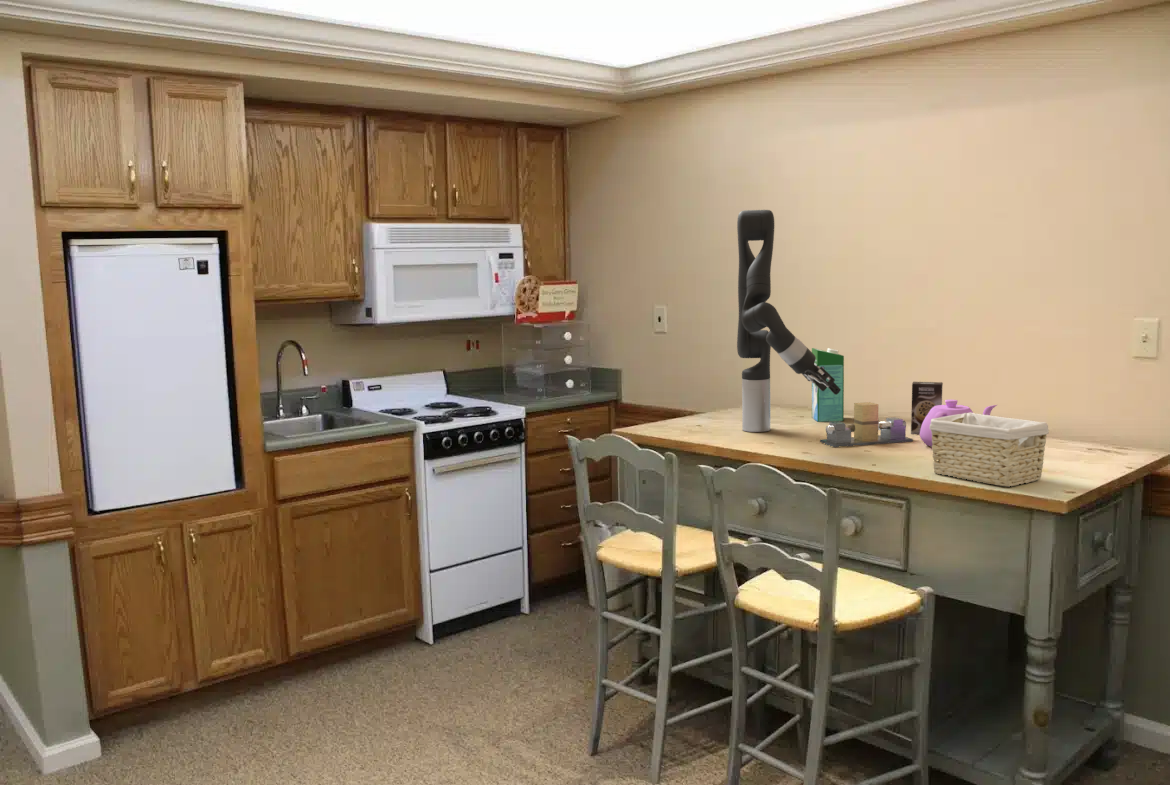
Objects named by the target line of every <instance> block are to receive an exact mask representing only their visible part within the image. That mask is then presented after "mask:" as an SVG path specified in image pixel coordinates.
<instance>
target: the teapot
mask: <svg viewBox="0 0 1170 785" xmlns="http://www.w3.org/2000/svg"><path fill="white" fill-rule="evenodd" d="M944 402H945V404H942V405H937V406H934V407H933V408H932V409H931V410H930V411H929V413H928V414H927V416H926V417H925V419H924V421H923V423H922V426H921V429H920V434H919V437H920V439H921V440H922V442H923V443H924V444H925V445H926V446H928V447H930V448H932V445H933V444H932V432H931V430H930V424H931V419H934V418H940V417H945V416H951V415H957V414H964V413H970V412H971V413H974V411H973V410H972V409H971V407H969V406H967V405H963V404H958V399H945V400H944ZM997 406H998V404H994V405H993V404H992V405H989V406H986V407H985V408H984V409H983V412H982V414H983V415H990V416H991V413H992V411H993V409H995V407H997Z"/></svg>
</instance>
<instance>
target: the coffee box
mask: <svg viewBox="0 0 1170 785" xmlns="http://www.w3.org/2000/svg"><path fill="white" fill-rule="evenodd" d="M943 384H944V383H943V382H942V381H939V382H935V381H913V382H912V384H911V414H910V418H911V419H910V420H911V423H910V434H911V435H912V434H913V435H920V429H921V426H922V423H923V421H924V419H925V417H926V416H927V414H928V413H929V411H930V410H931V409H932V408H933V407H934V406H937V405H943Z"/></svg>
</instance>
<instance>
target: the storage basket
mask: <svg viewBox="0 0 1170 785" xmlns="http://www.w3.org/2000/svg"><path fill="white" fill-rule="evenodd" d="M930 430H931V432H932V444H933V445H932V447H931V451H932V459H933V463H932V465H933V472H934V474H936V473H937V474H936V475H940V474H942V475H948V476H947V477H950V476H953V477H952V478H955V477H957V478H956V479H959V478H962V479H961V480H966V479H967V481H972V480H973V482H975V481H977V482H976V483H980V482H983V484H989V485H990V484H991V485H995V486H1000V487H1010V486H1011V487H1014V486H1015V487H1016V486H1020V485H1019V484H1021V485H1023V484H1024V483H1026V484H1028V483H1031V482H1032V483H1034V482H1035V481H1040V480H1041V478H1042V473H1043V466H1044V457H1045V450H1046V449H1045V448H1046V447H1045V446H1046V444H1047V435H1049V431H1050V430H1049V424H1048V423H1047V422H1046V421H1034V420H1028V419H1021V418H1012V417H1011V418H1010V417H1003V416H995V415H991V414H990V415H983V413H982V414H981V413H974V412H973V413H971V412H970V413H964V414H957V415H951V416H945V417H940V418H934V419H931V424H930ZM942 475H941V476H942Z"/></svg>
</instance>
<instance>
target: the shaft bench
mask: <svg viewBox="0 0 1170 785" xmlns="http://www.w3.org/2000/svg"><path fill="white" fill-rule="evenodd" d="M906 427H907V422H906V420H904V419H902V418H900V417H896V416H894V417H886V419H885V421H879V424H878V431H880V434H878V440H875V441H860V440H857V439H854V436H853V437H852V433H854V431H855V425H854V423H849V424H846V423H845V422H844V421H830V422H829V425H826V426H825V433H826V438H825V439H820V440H819V443H820V442H822V443H821V444H823V443H825V444H824V445H826V444H827V445H826V446H828V445H830V446H829V447H831V446H833V447H834V448H840V447H839V446H847V447H854V446H853V445H860V446H871V445H872V446H873V445H884V444H897V443H909V442H910V443H911V442H913V440H914V439H913V438H911V437H907V436H906V431H907V430H906ZM833 447H832V448H833Z"/></svg>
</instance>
